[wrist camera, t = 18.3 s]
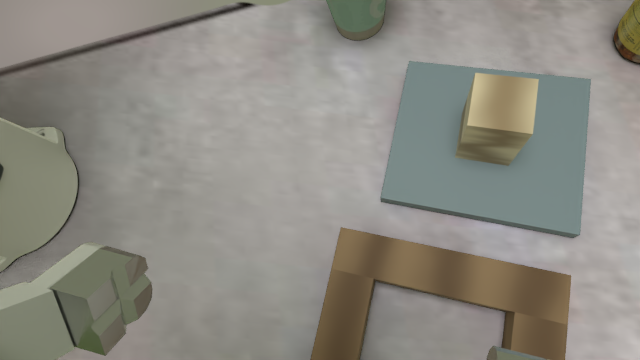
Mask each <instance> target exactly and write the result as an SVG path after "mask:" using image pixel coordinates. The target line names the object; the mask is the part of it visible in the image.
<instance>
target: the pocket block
mask: <svg viewBox="0 0 640 360" xmlns="http://www.w3.org/2000/svg"><path fill="white" fill-rule="evenodd" d="M375 281H378V282H382V283H387V284H391V285H395V286H399V287H403V288H407V289H412V290H416V291H420V292H424V293H428V294H433V295H437V296H441V297H445V298H449V299H454V300H458V301H462V302H466V303H470V304H475V305H479V306H483V307H487V308H491V309H496V310H500V311H504V312H506V314H505V323H504V332H503V341H502V348H504V349H508V350H512V351H516V352H521V353H525V354H529V355H533V356H537V357H541V358H545V359H546V360H565V353H566V339H567V325H568V312H569V298H570V285H571V275H566V274H561V273H556V272H552V271H547V270H542V269H537V268H533V267H528V266H523V265H518V264H513V263H509V262H504V261H499V260H494V259H490V258H485V257H480V256H475V255H471V254H466V253H461V252H456V251H451V250H447V249H442V248H437V247H432V246H428V245H423V244H418V243H413V242H408V241H404V240H399V239H394V238H389V237H385V236H380V235H375V234H370V233H366V232H361V231H356V230H351V229H346V228H342V227H341V230H340V234H339V238H338V243H337V247H336V251H335V256H334V260H333V264H332V269H331V273H330V277H329V282H328V286H327V290H326V295H325V299H324V303H323V308H322V312H321V316H320V321H319V325H318V329H317V334H316V338H315V342H314V347H313V351H312V355H311V360H360V355H361V350H362V345H363V340H364V335H365V330H366V325H367V320H368V315H369V310H370V305H371V300H372V295H373V290H374V285H375Z"/></svg>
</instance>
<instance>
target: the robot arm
mask: <svg viewBox="0 0 640 360" xmlns="http://www.w3.org/2000/svg"><path fill="white" fill-rule="evenodd" d="M77 188H78V177H77V171H76V167H75V165H74V162H73V161H72V159H71V157H70V156H69V155H68V153H67V151H66V149H65V145H64V137H63V133H62V131H61V130H59V129H56V128H54V127H38V128H24V127H21V126H19V125H17V124H14V123H12V122H10V121H7V120H5V119H3V118H0V272H1V271H3V270H4V269H5V268H6V267H8V266H9V265H10V264H11V263H12V262H13V261H14V260H15V259H16V258H18V257H20V256H22V255H24V254H27V253H29V252H31V251H34V250H36V249H37V248H39V247H41V246H42V245H44V244H45V243H46V242H48V241H49V240H50V239H51V238H52V237H53V236H54V235H55V234H56V233H57V232H58V231H59V230H60V228H61V227H62V226H63V224H64V223H65V221H66V220H67V218H68V216H69V214H70V212H71V210H72V208H73V205H74V202H75V199H76V195H77ZM147 269H148V266H147V263H146V259H145V258H144V257H142V256H139V255H136V254H132V253H129V252H125V251H122V250H118V249H115V248H111V247H108V246H103V245H100V244H96V243H93V242H89V243H85V244H82V245H81V246H79V247H78V248H77V249H75V250H74V251H73V252H71V253H70V254H68V255H67V256H66V257H64V258H63V259H62V260H60V261H59V262H58V263H56V264H55V265H54V266H52V267H51V268H49V269H48V270H47V271H45V272H44V273H43V274H41V275H40V276H39V277H37V278H36V279H35V280H33V281H32V282H31V283H27V282H23V283H20V284H17V285H14V286H11V287H8V288H5V289H2V290H0V360H56V359H58V358H59V357H61V356H63V355H65V354H66V353H68V352H70V351H72V350H74V349H75V348H74V347H77V348H81V349H84V350H87V351H91V352H94V353H98V354H101V355H104V356H106V355H107V354H108V352H109V351H110V350H111V349H112V348H113V347H114V346H115V345H116V344H117V342H118V341H119V340H120V339H121V338H122V337H123V336H124V335H125V334H126V326H127V324H129V323H131V322H133V321H136V320H138V319H139V318H140V317H141V316H142V314H143V313H144V312H145V311H146V309H147V307H148V305H149V303H150V301H151V298H152V285H151V282H150V280H149V279H148V278H147V277H146V275H145V274H144V273H145V272H146V271H147ZM487 360H546V359H545V358H541V357H537V356H533V355H529V354H525V353H521V352H516V351H512V350H508V349H504V348H500V347H496V346H493V347H492V348H491V349H490V351H489V353H488V356H487Z"/></svg>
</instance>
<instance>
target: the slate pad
mask: <svg viewBox="0 0 640 360" xmlns="http://www.w3.org/2000/svg"><path fill="white" fill-rule="evenodd" d="M475 73H483V74H493V75H502V76H512V77H522V78H532V79H539V82H538V91H537V100H536V110H535V119H534V128H533V135H532V136H531V137H530V138H529V140H528V141H527V142H526V144H525V145H524V146H523V148H522V149H521V150H520V151H519V153H518V154H517V155H516V157H515V158H514V159H513V161H512V162H511V163H510V164H509V166H506V165H500V164H493V163H487V162H480V161H474V160H467V159H461V158H455V155H456V149H457V142H458V136H459V130H460V124H461V117H462V112H463V109H464V106H465V103H466V100H467V97H468V94H469V91H470V88H471V85H472V81H473V78H474V75H475ZM590 84H591V79H584V78H574V77H564V76H554V75H544V74H534V73H524V72H514V71H504V70H494V69H484V68H473V67H463V66H453V65H443V64H433V63H423V62H413V61H409V64H408V69H407V74H406V78H405V83H404V88H403V93H402V98H401V103H400V107H399V112H398V117H397V122H396V127H395V131H394V136H393V141H392V146H391V151H390V155H389V160H388V165H387V170H386V175H385V180H384V184H383V189H382V194H381V202H386V203H392V204H397V205H402V206H407V207H413V208H418V209H423V210H429V211H434V212H439V213H445V214H450V215H455V216H461V217H466V218H471V219H476V220H482V221H487V222H492V223H498V224H503V225H508V226H514V227H519V228H524V229H530V230H535V231H540V232H545V233H551V234H556V235H561V236H567V237H572V238H574V237H576V236H579V235H580V228H581V213H582V199H583V185H584V170H585V156H586V142H587V127H588V113H589V98H590Z"/></svg>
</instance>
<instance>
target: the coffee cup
mask: <svg viewBox="0 0 640 360" xmlns="http://www.w3.org/2000/svg"><path fill="white" fill-rule="evenodd" d="M326 1H327V4H328V6H329V9H330V11H331V14H332V16H333V19H334V21H335V24H336V26H337V29H338V31H339V32H340V33H341V34H342V35H343V36H344V37H346V38H348V39H351V40H364V39H367V38H370V37H372V36H373V35H375V34H376V33H377V32H378V31H379V30H380V28H381V27H382V25H383V21H384V13H385V5H386V0H326Z"/></svg>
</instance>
